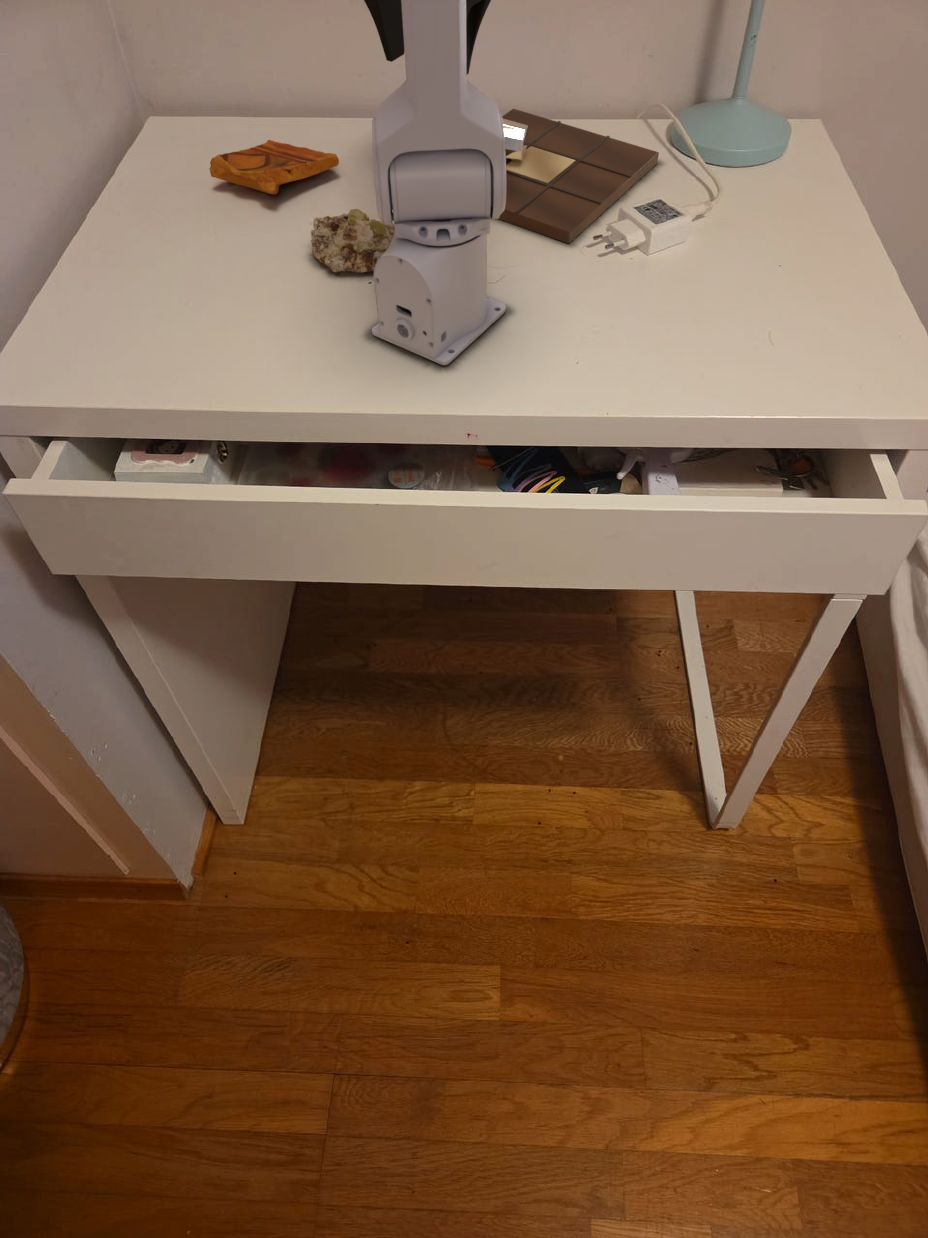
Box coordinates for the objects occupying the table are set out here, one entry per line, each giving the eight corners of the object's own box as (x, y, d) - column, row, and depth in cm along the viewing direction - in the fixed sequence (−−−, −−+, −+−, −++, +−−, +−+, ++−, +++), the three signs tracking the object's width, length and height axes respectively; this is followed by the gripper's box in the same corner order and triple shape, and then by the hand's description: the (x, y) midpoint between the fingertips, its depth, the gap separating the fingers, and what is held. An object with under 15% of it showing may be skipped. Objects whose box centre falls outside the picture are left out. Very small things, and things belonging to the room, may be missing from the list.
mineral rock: (290, 249, 80) (319, 182, 82) (301, 283, 84) (329, 218, 86) (403, 270, 78) (429, 201, 81) (409, 304, 82) (434, 237, 85)
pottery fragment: (202, 159, 88) (263, 101, 92) (218, 199, 92) (275, 143, 96) (282, 188, 85) (341, 127, 89) (294, 229, 89) (350, 169, 93)
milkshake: (516, 180, 89) (421, 161, 90) (527, 155, 92) (434, 137, 93) (521, 135, 86) (422, 115, 86) (532, 109, 89) (436, 91, 90)
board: (568, 243, 84) (570, 230, 83) (416, 189, 90) (415, 177, 89) (657, 163, 92) (659, 150, 91) (512, 119, 98) (513, 106, 97)
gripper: (518, -112, 73) (513, 68, 84) (379, -140, 78) (392, 34, 89) (469, -88, 69) (471, 97, 80) (328, -118, 74) (347, 60, 85)
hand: (427, 66), depth 84 cm, fingers open, 7 cm apart
